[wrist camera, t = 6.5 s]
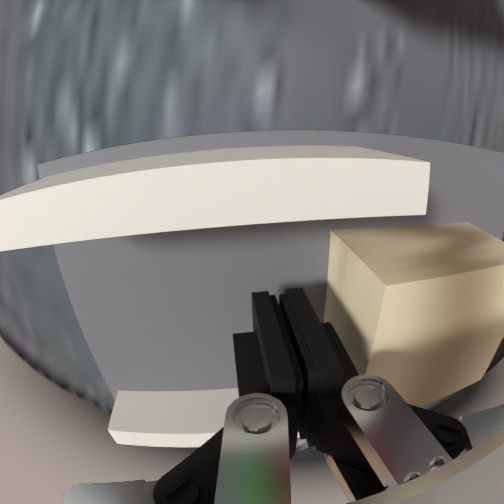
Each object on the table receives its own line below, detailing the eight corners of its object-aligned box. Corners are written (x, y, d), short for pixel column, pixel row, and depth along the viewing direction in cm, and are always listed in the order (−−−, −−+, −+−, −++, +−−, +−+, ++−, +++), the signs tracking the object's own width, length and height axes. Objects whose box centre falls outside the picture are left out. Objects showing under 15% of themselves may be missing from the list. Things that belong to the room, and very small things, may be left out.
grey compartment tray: (546, 165, 13) (611, 190, 7) (516, 303, 18) (563, 345, 12) (73, 155, 11) (-38, 191, 4) (130, 372, 16) (106, 472, 9)
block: (468, 222, 11) (530, 258, 7) (440, 331, 13) (481, 379, 9) (330, 230, 10) (385, 285, 6) (319, 358, 12) (347, 428, 9)
